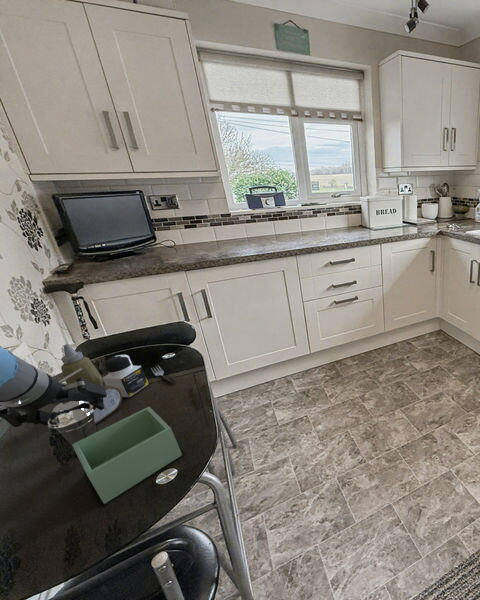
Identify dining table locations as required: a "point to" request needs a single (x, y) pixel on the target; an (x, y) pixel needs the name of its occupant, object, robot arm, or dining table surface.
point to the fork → (161, 374)
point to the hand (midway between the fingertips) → (77, 412)
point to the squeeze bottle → (76, 362)
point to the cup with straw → (73, 418)
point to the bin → (126, 452)
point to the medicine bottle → (124, 375)
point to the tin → (108, 403)
